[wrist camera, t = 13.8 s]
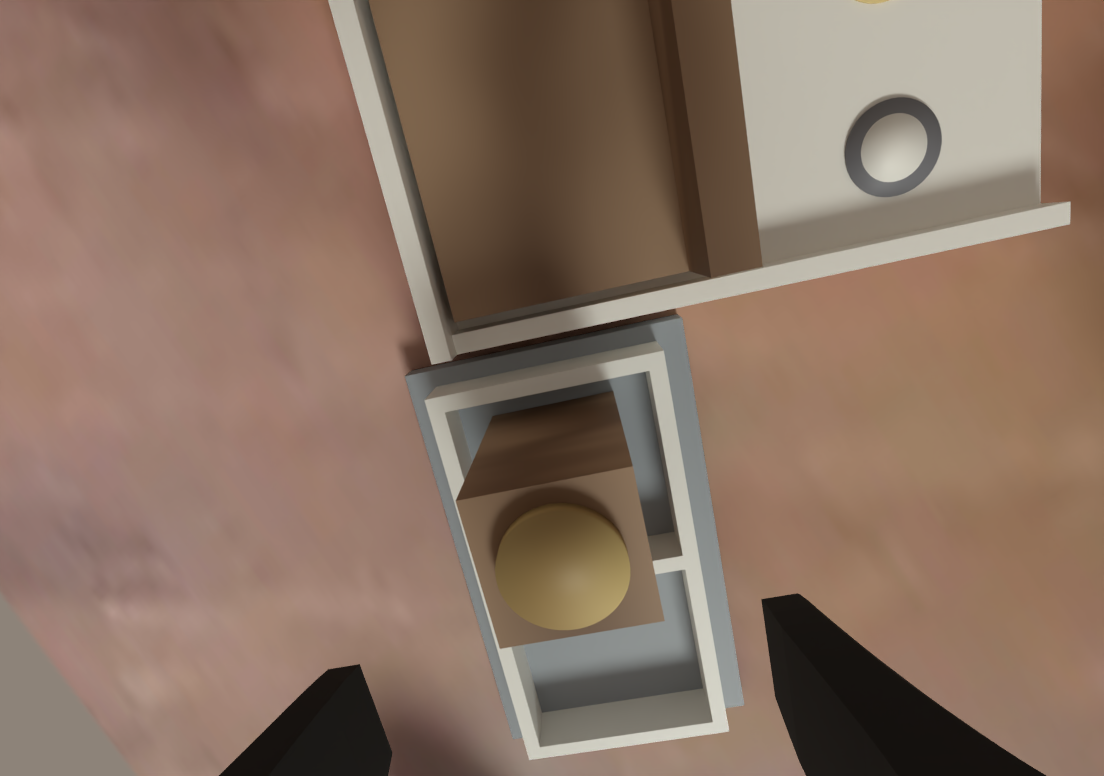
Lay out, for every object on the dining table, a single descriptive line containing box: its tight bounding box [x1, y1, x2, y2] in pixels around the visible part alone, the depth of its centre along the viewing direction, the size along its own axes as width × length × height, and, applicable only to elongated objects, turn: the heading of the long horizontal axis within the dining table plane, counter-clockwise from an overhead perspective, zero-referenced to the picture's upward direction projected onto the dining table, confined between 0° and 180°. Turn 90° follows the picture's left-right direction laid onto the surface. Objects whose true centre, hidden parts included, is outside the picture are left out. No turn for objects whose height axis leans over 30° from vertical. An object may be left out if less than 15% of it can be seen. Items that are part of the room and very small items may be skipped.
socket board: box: [405, 314, 744, 760], centre depth 19 cm, size 9×15×2 cm, turn 13°
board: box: [328, 0, 1070, 365], centre depth 15 cm, size 18×11×3 cm, turn 103°
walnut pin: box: [456, 391, 665, 649], centre depth 15 cm, size 4×4×6 cm
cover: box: [368, 0, 763, 322], centre depth 14 cm, size 8×9×4 cm
